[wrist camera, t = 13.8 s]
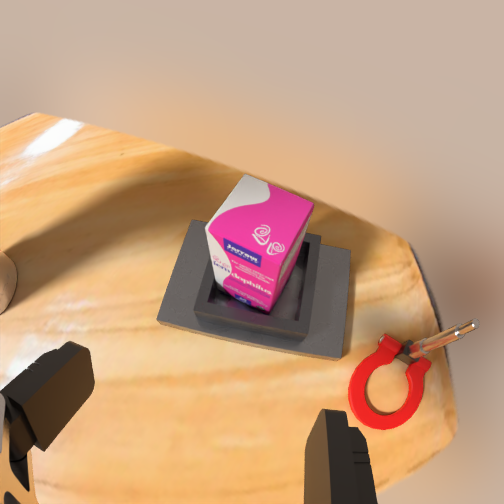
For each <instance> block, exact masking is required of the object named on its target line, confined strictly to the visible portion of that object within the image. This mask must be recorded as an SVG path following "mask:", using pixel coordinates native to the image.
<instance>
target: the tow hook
mask: <svg viewBox="0 0 504 504" xmlns="http://www.w3.org/2000/svg"><path fill="white" fill-rule="evenodd" d="M478 327H479V321H478V319H476V318H475V319H473V320H471V321H469V322H467V323H465V324H463V325H462V324H457V325H455V326H453V327H451V328H449V329H447V330H445V331H443V332H441V333H439V334H437V335H434V336H432V337H430V338H428V339H427V338H423V339H421V340H419V341H417V342H412V341H410V340H407V341H405V342H403V343H399V342H398V341H396V340H395V339H393V338H391V337H390V336H388V335H386V334H384V335H383V336H382V337H381V338H380V340H379V342H378V345H379V348H378V349H377V351H376V353H373V354H371V355H370V356H368V357H367V358H365V359H364V360H363V361H362V362H361V363H360V364H359V365H358V366H357V368H356V369H355V371H354V373H353V375H352V377H351V380H350V384H349V388H348V400H349V403H350V407H351V410H352V412H353V413H354V415H355V417H356V418H357V419H358V420H359V421H360V422H361V423H363V424H364V425H366V426H368V427H370V428H373V429H381V430H386V429H392V428H395V427H398V426H400V425H402V424H403V423H405V422H406V421H407V420H408V419H410V418H411V417H412V415H413V414H414V413H415V411H416V410H417V408H418V406H419V404H420V402H421V399H422V394H423V376H424V374H425V373H426V372H427V371H428V370H429V368H430V367H431V362H430V361H429V360H427V359H426V358H424V357H422V356H424V355H426V354H428V353H429V352H430V351H431V350H434V349H436V348H439V347H442V346H444V345H447V344H449V343H451V342H454V341H456V340H458V339H461V338H463V337H464V336H465V334H466V333H468V332H470V331H472V330H475V329H477V328H478ZM394 357H396V358H398V359H400V360H401V361H403V362H405V363H406V364H408V365H409V366H408V369H407V371H406V376H407V379H408V382H409V393H408V397H407V399H406V401H405V403H404V405H403V406H402V407H401V408H400V409H399V410H398V411H396V412H395V413H392V414H390V415H379V414H377V413H375V412H373V411H372V410H371V409H370V408H369V406H368V405H367V403H366V400H365V396H364V388H365V384H366V381H367V379H368V377H369V375H370V374H371V373H372V372H373V370H375V369H376V368H378V367H379V366H381V365H387V364H390V363H391V362H392V361H393V359H394Z"/></svg>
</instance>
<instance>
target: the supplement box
mask: <svg viewBox="0 0 504 504" xmlns="http://www.w3.org/2000/svg"><path fill="white" fill-rule="evenodd" d="M313 208H314V203H312V202H310V201H308V200H306V199H303V198H301V197H299V196H297V195H294V194H292V193H290V192H288V191H285V190H283V189H281V188H278V187H276V186H273V185H271V184H269V183H267V182H264V181H262V180H259V179H257V178H254V177H252V176H250V175H247V174H244V176H243V177H242V178H241V180H240V181H239V182H238V184H237V185H236V186H235V188H234V189H233V190H232V192H231V193H230V195H229V196H228V197H227V199H226V200H225V201H224V203H223V204H222V205H221V207H220V208H219V209H218V211H217V212H216V213H215V215H214V216H213V217H212V219H211V220H210V221H209V223H208V224H207V225H206V227H205V230H206V235H207V240H208V245H209V250H210V255H211V260H212V265H213V270H214V275H215V280H216V284H217V289H218V290H219V291H221V292H223V293H225V294H227V295H229V296H231V297H233V298H235V299H237V300H239V301H241V302H243V303H245V304H247V305H249V306H250V307H252V308H254V309H256V310H258V311H260V312H261V313H263V314H265V315H270V313H271V311H272V309H273V307H274V306H275V304H276V302H277V300H278V298H279V296H280V295H281V293H282V291H283V289H284V287H285V285H286V284H287V282H288V280H289V278H290V276H291V274H292V272H293V269H294V266H295V263H296V260H297V257H298V254H299V251H300V248H301V245H302V242H303V239H304V236H305V233H306V230H307V227H308V224H309V221H310V218H311V215H312V212H313Z"/></svg>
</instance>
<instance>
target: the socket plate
mask: <svg viewBox="0 0 504 504" xmlns="http://www.w3.org/2000/svg"><path fill="white" fill-rule="evenodd" d="M207 224H208V222H202V221H197V220H192V221H191V223H190V226H189V229H188V231H187V234H186V237H185V239H184V242H183V245H182V247H181V250H180V253H179V255H178V258H177V261H176V264H175V267H174V269H173V272H172V275H171V278H170V281H169V284H168V286H167V289H166V292H165V295H164V298H163V301H162V304H161V307H160V310H159V313H158V316H157V319H156V320H157V321H158V322H159V323H160V324H162V325H166V326H169V327H173V328H177V329H180V330H184V331H188V332H192V333H196V334H200V335H204V336H208V337H212V338H217V339H221V340H225V341H230V342H234V343H239V344H243V345H248V346H253V347H258V348H263V349H268V350H273V351H278V352H284V353H289V354H295V355H301V356H307V357H313V358H319V359H326V360H333V361H338V360H339V359H341V355H342V347H343V339H344V330H345V320H346V310H347V299H348V286H349V271H350V253H351V250H347V249H342V248H337V247H332V246H327V245H322V244H320V241H321V236H319V235H314V234H309V233H305V236H304V239H303V242H302V245H301V248H300V251H299V254H298V257H297V260H296V263H295V266H294V269H293V272H292V274H291V276H290V278H289V280H288V282H287V284H286V285H285V287H284V289H283V291H282V293H281V295H280V296H279V298H278V300H277V302H276V304H275V306H274V307H273V309H272V311H271V313H270V315H265V314H263V313H261V312H260V311H258V310H256V309H254V308H252V307H250V306H249V305H247V304H245V303H243V302H241V301H239V300H237V299H235V298H233V297H231V296H229V295H227V294H225V293H223V292H221V291H219V290H218V289H217V284H216V280H215V275H214V270H213V265H212V260H211V255H210V250H209V245H208V240H207V235H206V230H205V227H206V225H207Z"/></svg>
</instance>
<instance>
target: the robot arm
mask: <svg viewBox="0 0 504 504" xmlns="http://www.w3.org/2000/svg"><path fill="white" fill-rule="evenodd" d="M16 283H17V270H16V267H15V264H14V263H13V261H12V260H11V259H10V258H9V257H7V256H6V255H5V254H4V253H3V252H2V251H1V250H0V314H1V313H2V312H3V311H4V310H5V309H6V307H7V306H8V304H9V303H10V301H11V299H12V297H13V294H14V291H15V288H16ZM94 384H95V380H94V374H93V368H92V362H91V355H90V351H89V349H88V348H86V347H83V346H81V345H79V344H76V343H74V342H72V341H69V342H67V343H65V344H64V345H63V346H62V347H61V348H59V349H58V350H57V349H54V350H52V351H49V352H47V353H44V354H43V355H42V356H40V357H39V358H38V359H37V360H36V361H35V363H32V364H31V365H30V366H28V367H27V369H25V370H24V371H23V372H21V373H20V374H19V375H18V376H17V377H16V378H15V379H13V380H12V381H11V382H10V383H9V384H8V385H7V386H5V387H4V388H3V389H2V390H1V391H0V504H39V503H38V501H37V499H36V495H35V487H34V478H33V467H32V454H31V450H30V449H31V448H32V447H33V445H35V446H36V447H38V448H39V449H41V450H42V451H44V452H45V450H46V449H47V448H48V447H49V445H50V444H51V443H52V442H53V440H54V439H55V438H56V437H57V435H58V434H59V433H60V432H61V430H62V429H63V428H64V427H65V426H66V424H67V423H68V422H69V421H70V419H71V418H72V417H73V416H74V415H75V413H76V412H77V411H78V410H79V408H80V407H81V406H82V405H83V404H84V402H85V401H86V400H87V399H88V398H89V396H90V395H91V394H92V392H93V389H94ZM304 504H378V503H377V498H376V492H375V486H374V480H373V474H372V468H371V465H370V458H369V454H368V447H367V442H366V439H365V437H364V436H363V434H362V433H361V431H360V430H359V429H358V427H349V426H348V420H347V415H346V412H345V411H338V410H328V409H322V410H321V411H320V413H319V415H318V417H317V420H316V422H315V424H314V426H313V428H312V430H311V433H310V435H309V437H308V439H307V443H306V448H305V479H304Z"/></svg>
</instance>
